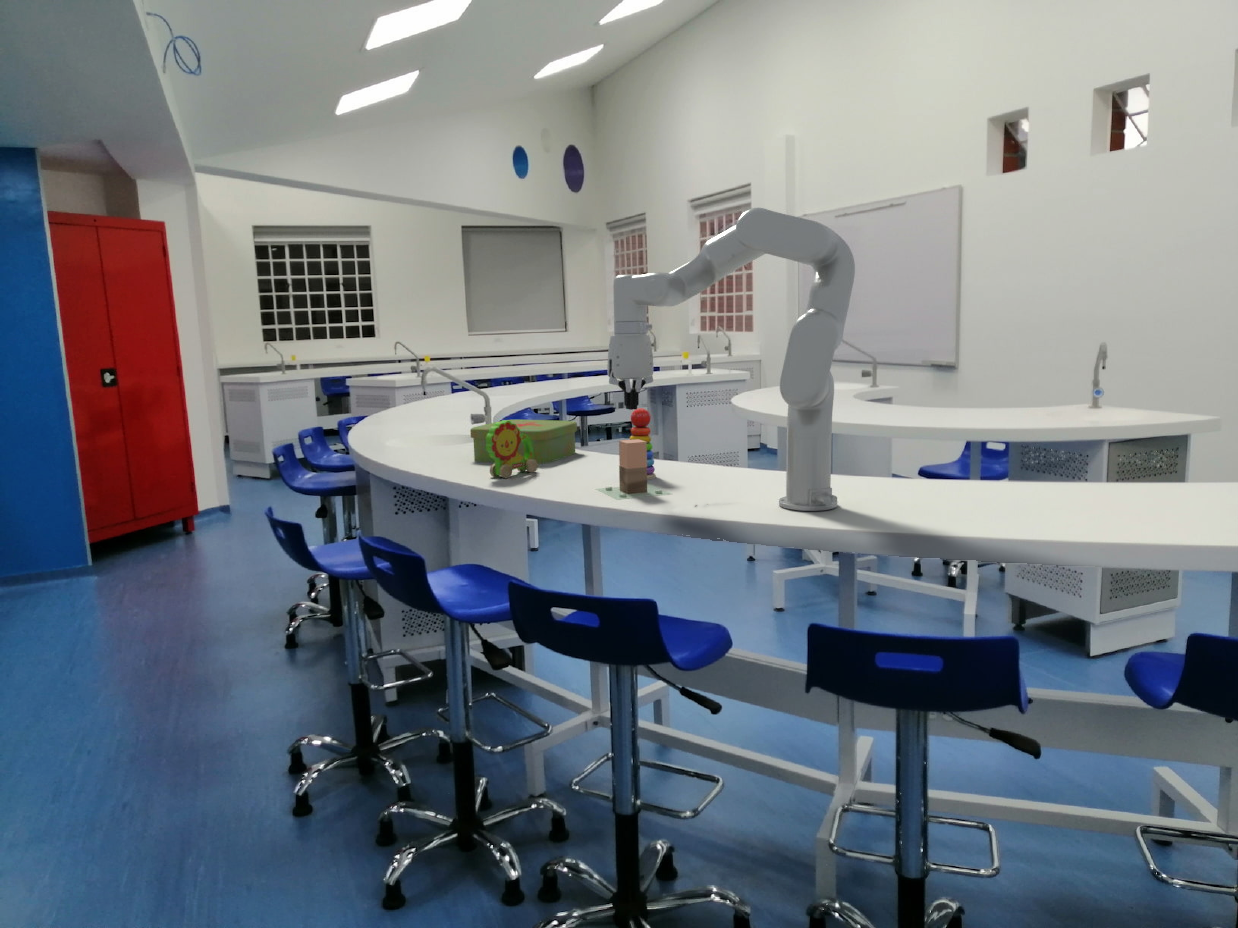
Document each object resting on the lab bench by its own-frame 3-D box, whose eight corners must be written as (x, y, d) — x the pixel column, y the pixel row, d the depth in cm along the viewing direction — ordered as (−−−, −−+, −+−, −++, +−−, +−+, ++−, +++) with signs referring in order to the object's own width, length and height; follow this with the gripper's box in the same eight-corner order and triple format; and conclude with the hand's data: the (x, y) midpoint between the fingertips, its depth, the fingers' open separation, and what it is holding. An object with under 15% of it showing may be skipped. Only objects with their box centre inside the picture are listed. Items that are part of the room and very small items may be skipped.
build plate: (672, 498, 205) (672, 491, 205) (616, 503, 200) (616, 496, 200) (648, 487, 218) (648, 481, 218) (595, 493, 213) (595, 486, 213)
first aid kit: (466, 461, 267) (465, 428, 265) (510, 449, 290) (509, 419, 289) (543, 465, 256) (542, 431, 255) (582, 452, 280) (581, 421, 278)
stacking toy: (653, 483, 223) (652, 410, 220) (622, 483, 225) (620, 410, 222) (658, 478, 231) (657, 407, 228) (628, 477, 233) (626, 407, 230)
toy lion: (524, 470, 248) (523, 416, 245) (538, 472, 244) (537, 417, 242) (482, 478, 236) (480, 422, 233) (496, 480, 232) (494, 423, 230)
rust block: (647, 467, 207) (646, 441, 206) (627, 468, 205) (626, 443, 204) (639, 464, 211) (638, 439, 210) (619, 465, 209) (619, 440, 208)
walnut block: (647, 492, 208) (646, 467, 207) (627, 494, 206) (627, 468, 205) (638, 488, 212) (638, 464, 211) (619, 490, 210) (619, 465, 209)
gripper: (653, 328, 209) (654, 406, 212) (594, 330, 204) (595, 409, 207) (666, 329, 202) (667, 408, 205) (605, 330, 197) (607, 412, 200)
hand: (631, 408), depth 206 cm, fingers closed
